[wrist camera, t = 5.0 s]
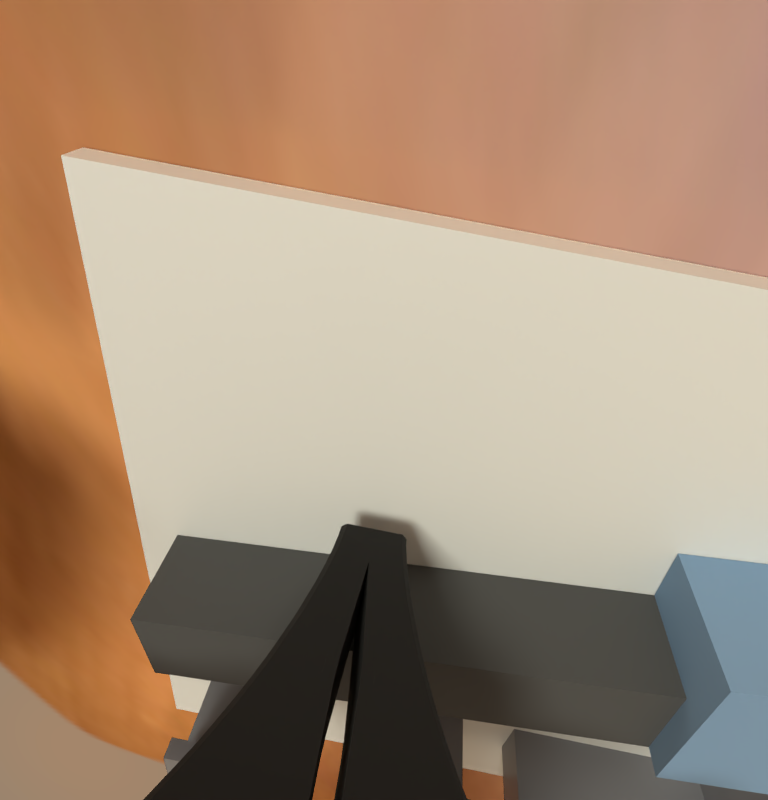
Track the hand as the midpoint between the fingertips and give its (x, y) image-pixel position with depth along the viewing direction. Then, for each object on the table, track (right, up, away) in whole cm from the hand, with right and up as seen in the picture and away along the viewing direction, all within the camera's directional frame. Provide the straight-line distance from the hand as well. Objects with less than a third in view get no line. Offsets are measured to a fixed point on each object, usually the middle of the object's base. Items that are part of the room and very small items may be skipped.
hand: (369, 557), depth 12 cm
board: (+3, -2, +3) cm, 5 cm away
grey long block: (+3, -1, +2) cm, 4 cm away
